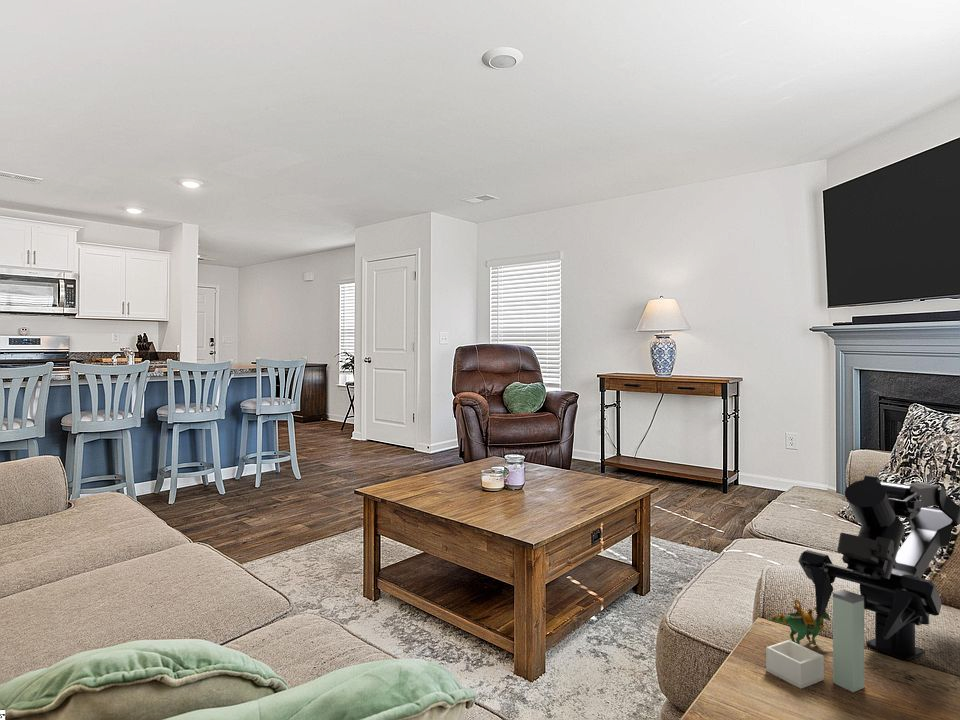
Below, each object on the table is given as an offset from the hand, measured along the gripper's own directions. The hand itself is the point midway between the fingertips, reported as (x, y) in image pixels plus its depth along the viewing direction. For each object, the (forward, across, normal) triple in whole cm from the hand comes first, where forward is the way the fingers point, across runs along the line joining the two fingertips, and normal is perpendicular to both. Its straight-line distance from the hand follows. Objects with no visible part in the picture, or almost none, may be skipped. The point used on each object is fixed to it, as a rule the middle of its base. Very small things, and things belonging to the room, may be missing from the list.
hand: (850, 626), depth 87 cm
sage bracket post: (+7, 0, +6) cm, 9 cm away
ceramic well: (+10, -6, +3) cm, 12 cm away
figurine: (+2, -10, +11) cm, 15 cm away
